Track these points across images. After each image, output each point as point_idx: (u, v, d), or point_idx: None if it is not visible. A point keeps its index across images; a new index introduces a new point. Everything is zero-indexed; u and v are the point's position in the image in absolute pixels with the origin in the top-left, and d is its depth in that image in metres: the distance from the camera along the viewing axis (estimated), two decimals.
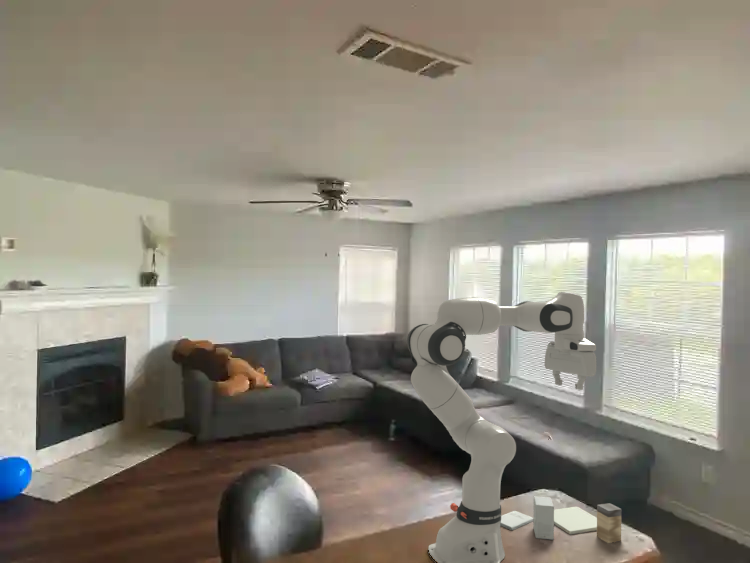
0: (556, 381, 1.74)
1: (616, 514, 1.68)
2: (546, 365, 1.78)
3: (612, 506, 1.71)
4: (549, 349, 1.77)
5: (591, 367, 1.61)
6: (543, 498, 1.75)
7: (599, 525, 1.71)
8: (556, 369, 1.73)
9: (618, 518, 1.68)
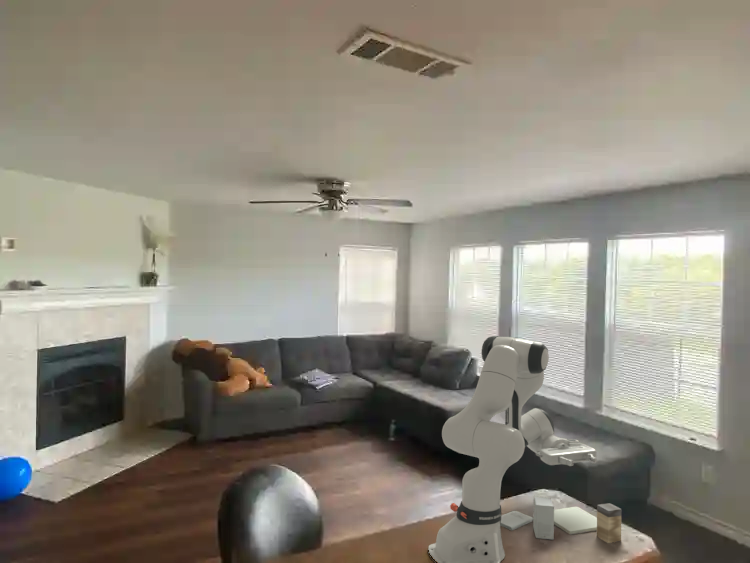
0: (569, 459, 1.81)
1: (616, 514, 1.68)
2: (551, 453, 1.85)
3: (612, 506, 1.71)
4: (544, 448, 1.90)
5: None
6: (543, 498, 1.75)
7: (599, 525, 1.71)
8: (564, 453, 1.85)
9: (618, 518, 1.68)
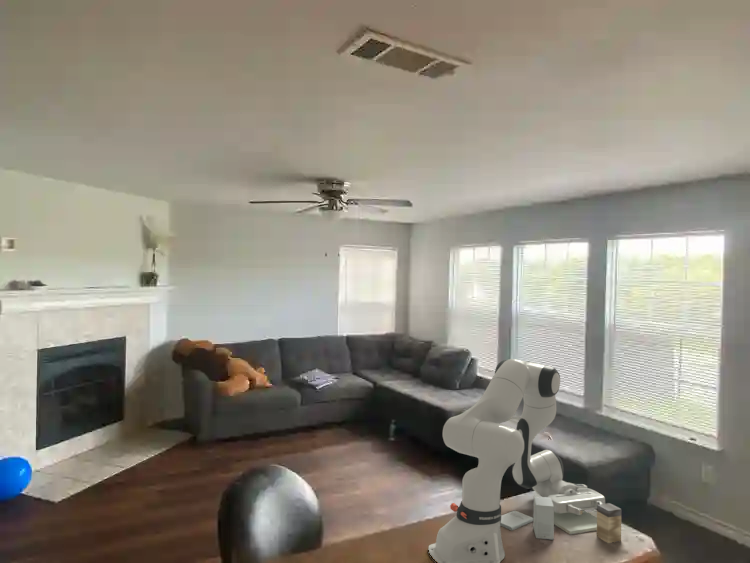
0: (578, 508, 1.77)
1: (616, 514, 1.68)
2: (559, 501, 1.80)
3: (612, 506, 1.71)
4: (552, 495, 1.85)
5: None
6: (543, 498, 1.75)
7: (599, 525, 1.71)
8: (572, 501, 1.81)
9: (618, 518, 1.68)
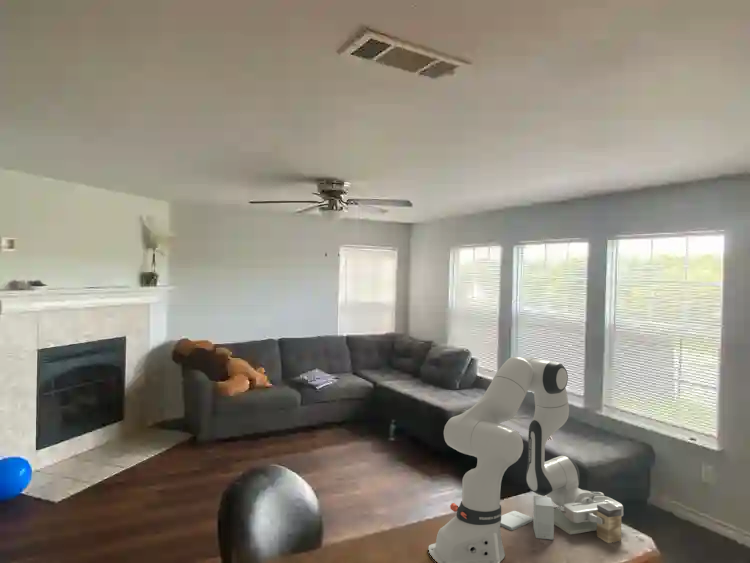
0: (600, 517, 1.69)
1: (616, 514, 1.68)
2: (576, 510, 1.72)
3: (612, 506, 1.71)
4: (568, 503, 1.78)
5: None
6: (543, 498, 1.75)
7: (599, 525, 1.71)
8: (590, 510, 1.73)
9: (618, 517, 1.68)
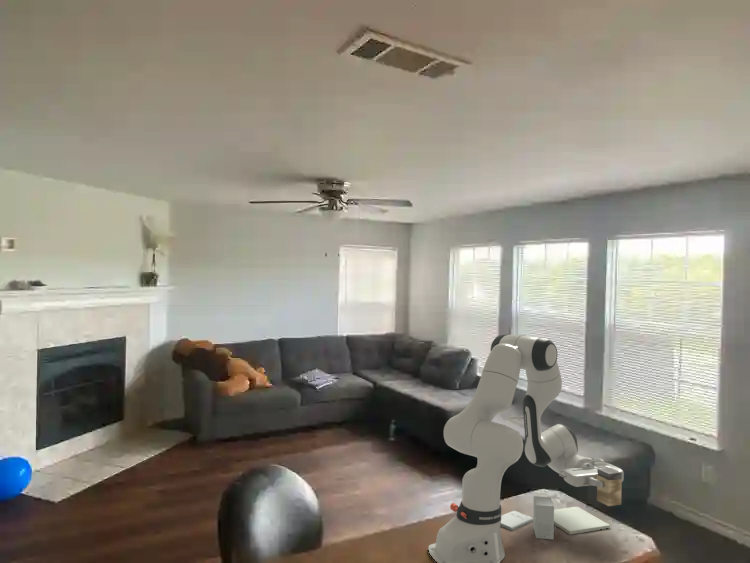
0: (600, 481, 1.70)
1: (616, 477, 1.68)
2: (576, 474, 1.72)
3: (612, 470, 1.71)
4: (568, 468, 1.78)
5: None
6: (543, 498, 1.75)
7: (599, 489, 1.71)
8: (590, 474, 1.73)
9: (618, 481, 1.68)
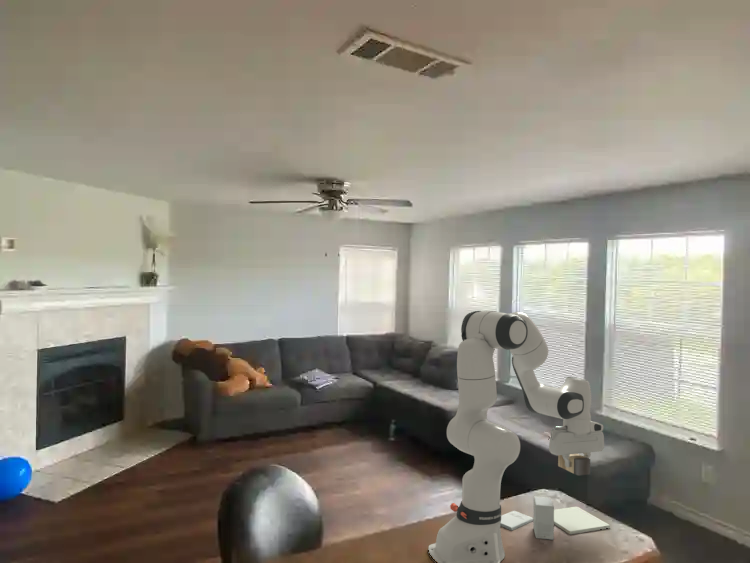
0: (570, 464, 1.80)
1: None
2: (558, 452, 1.78)
3: (587, 467, 1.79)
4: (562, 434, 1.78)
5: None
6: (543, 498, 1.75)
7: None
8: (570, 453, 1.79)
9: None
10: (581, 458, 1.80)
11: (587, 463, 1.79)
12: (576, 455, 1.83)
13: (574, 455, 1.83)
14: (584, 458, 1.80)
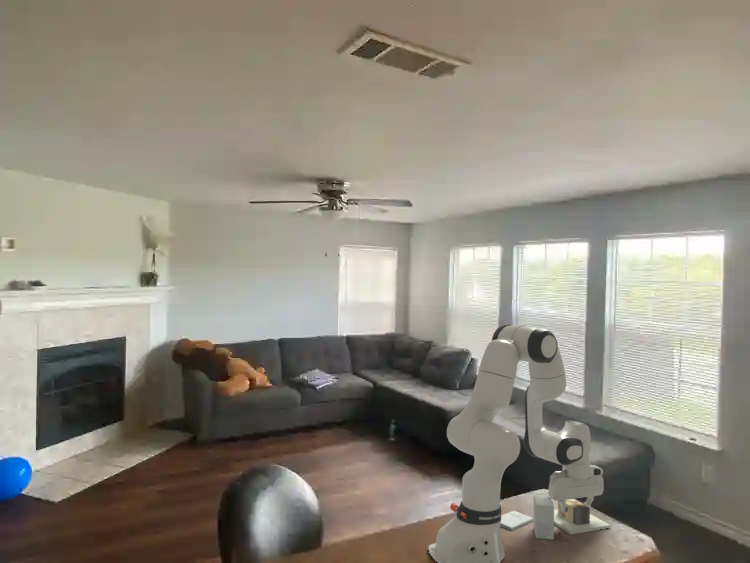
0: (566, 509, 1.79)
1: None
2: (558, 497, 1.77)
3: (586, 516, 1.79)
4: (562, 480, 1.78)
5: None
6: (543, 498, 1.75)
7: None
8: (570, 498, 1.79)
9: None
10: (580, 507, 1.80)
11: (586, 512, 1.79)
12: (575, 503, 1.83)
13: (573, 503, 1.83)
14: (583, 507, 1.80)
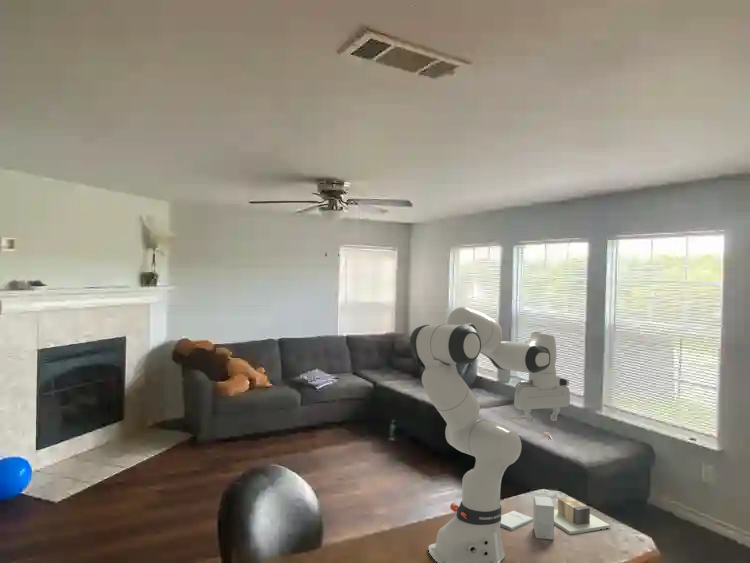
0: (531, 419, 1.79)
1: None
2: (523, 406, 1.77)
3: (586, 516, 1.79)
4: (527, 389, 1.77)
5: None
6: (543, 498, 1.75)
7: (565, 506, 1.83)
8: (535, 407, 1.78)
9: None
10: (580, 507, 1.80)
11: (586, 512, 1.79)
12: (575, 503, 1.83)
13: (573, 503, 1.83)
14: (583, 507, 1.80)
